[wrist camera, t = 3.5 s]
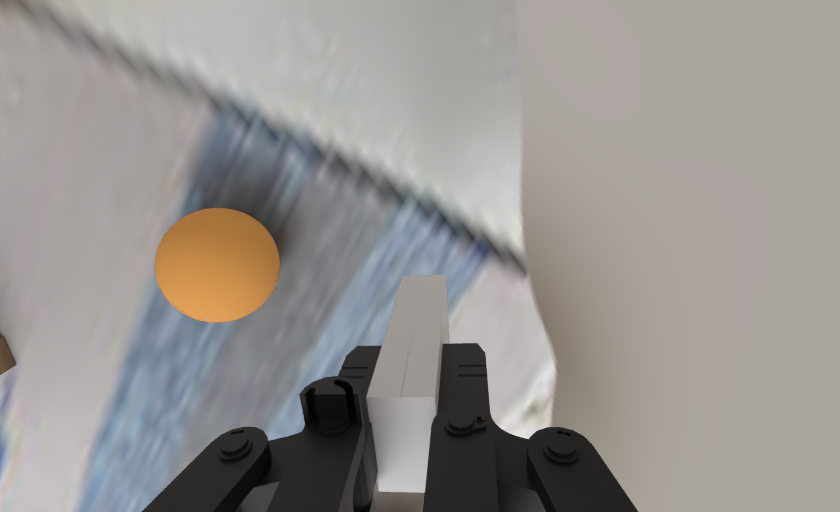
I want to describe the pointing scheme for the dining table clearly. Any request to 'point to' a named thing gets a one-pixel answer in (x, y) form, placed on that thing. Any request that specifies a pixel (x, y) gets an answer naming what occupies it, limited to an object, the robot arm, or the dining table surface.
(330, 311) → the dining table surface
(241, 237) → the ball
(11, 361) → the bridge
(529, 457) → the robot arm
